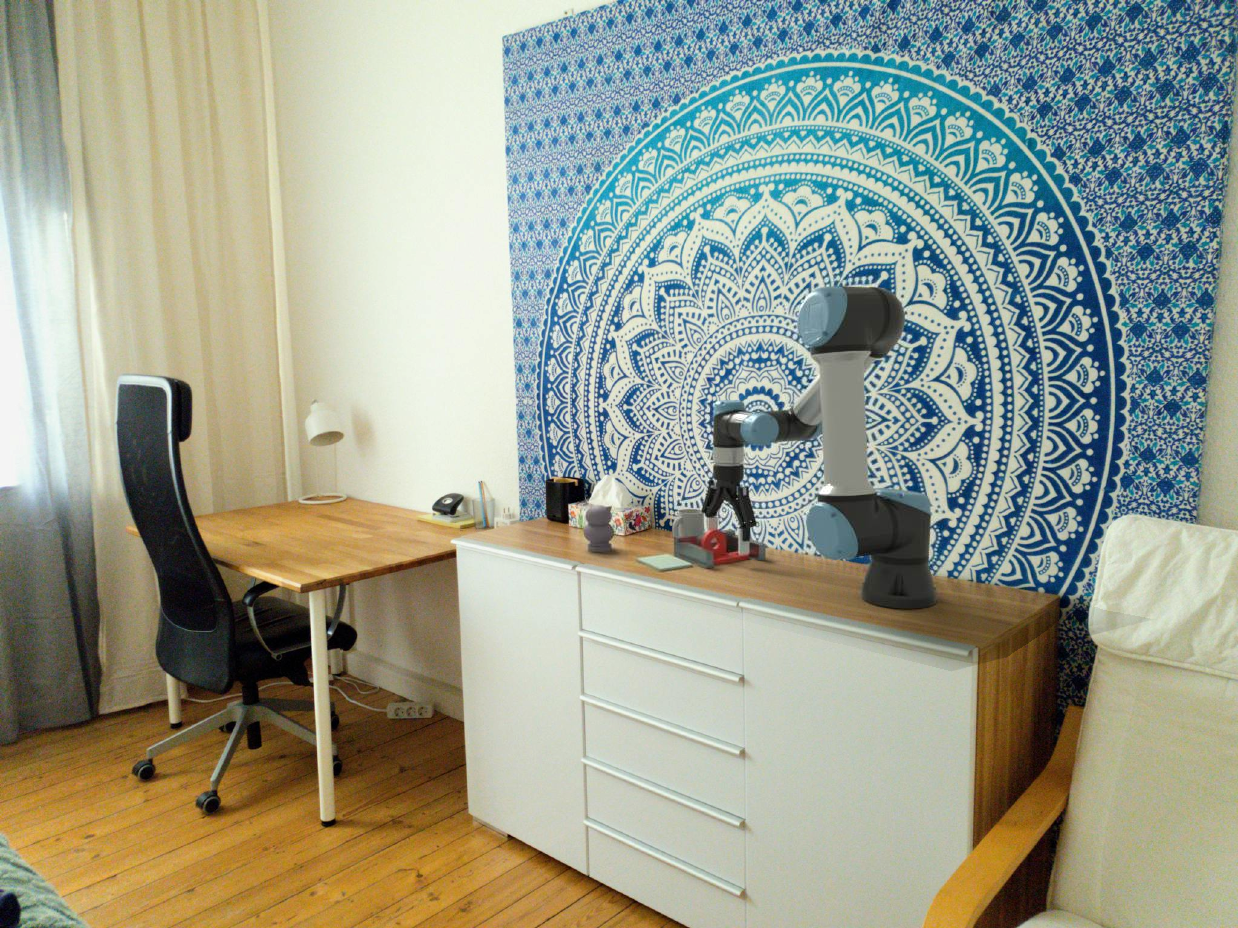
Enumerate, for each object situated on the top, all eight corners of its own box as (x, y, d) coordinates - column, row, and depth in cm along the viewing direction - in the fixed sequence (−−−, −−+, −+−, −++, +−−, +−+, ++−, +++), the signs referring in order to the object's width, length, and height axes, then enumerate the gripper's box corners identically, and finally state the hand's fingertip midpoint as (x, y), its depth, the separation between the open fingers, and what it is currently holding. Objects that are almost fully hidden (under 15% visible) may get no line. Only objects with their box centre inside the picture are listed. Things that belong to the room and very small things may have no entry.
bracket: (712, 565, 215) (712, 534, 214) (701, 562, 219) (701, 530, 218) (750, 558, 221) (750, 528, 220) (739, 555, 225) (739, 525, 224)
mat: (692, 566, 214) (692, 564, 214) (660, 571, 210) (660, 568, 210) (667, 556, 225) (667, 554, 224) (636, 560, 220) (636, 558, 220)
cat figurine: (577, 549, 233) (576, 505, 232) (597, 544, 239) (596, 501, 237) (601, 554, 228) (600, 508, 226) (621, 548, 234) (620, 504, 232)
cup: (709, 543, 238) (709, 511, 237) (682, 549, 232) (682, 516, 231) (690, 539, 244) (690, 507, 242) (664, 545, 237) (663, 512, 236)
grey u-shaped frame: (765, 559, 220) (765, 539, 219) (706, 568, 212) (706, 548, 211) (721, 544, 237) (721, 526, 236) (665, 552, 229) (664, 533, 228)
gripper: (772, 469, 206) (770, 557, 209) (712, 456, 228) (712, 536, 231) (746, 471, 203) (744, 561, 206) (688, 458, 225) (688, 539, 228)
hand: (727, 548), depth 219 cm, fingers open, 13 cm apart
